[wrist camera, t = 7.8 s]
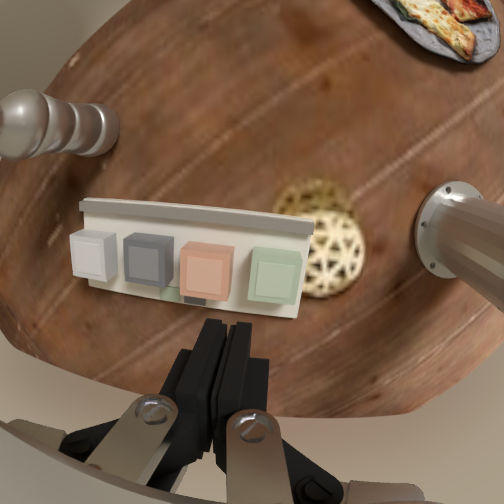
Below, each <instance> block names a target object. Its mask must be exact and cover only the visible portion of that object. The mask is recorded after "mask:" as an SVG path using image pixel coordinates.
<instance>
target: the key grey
mask: <svg viewBox="0 0 504 504" xmlns="http://www.w3.org/2000/svg"><path fill="white" fill-rule="evenodd" d="M70 247H71V258H72V268H73V275H75V276H79V277H84V278H89V279H94V280H99V281H104V282H107V281H108V280H109V279H111V278H112V277H113V276H114V275H116V274H117V273H118V261H117V234H116V232H107V231H98V230H89V229H82V230H80V231H77V232H75V233H73V234H71V235H70Z"/></svg>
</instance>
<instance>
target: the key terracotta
mask: <svg viewBox="0 0 504 504" xmlns="http://www.w3.org/2000/svg"><path fill="white" fill-rule="evenodd" d="M234 249H235V246H227V245H219V244H210V243H202V242H193V241H188V242H187V243H186V244H185V245H184V246H183V247H182V248H181V249H180V295H184V296H191V297H197V298H204V299H211V300H218V301H225V302H227V300H228V297H229V294H230V291H231V284H232V272H233V260H234Z"/></svg>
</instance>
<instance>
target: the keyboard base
mask: <svg viewBox="0 0 504 504" xmlns="http://www.w3.org/2000/svg"><path fill="white" fill-rule="evenodd" d="M79 211H84V229H89V230H98V231H107V232H116V234H117V261H118V273H117V274H116V275H114V276H113V277H112V278H111V279H109V280H108V281H107V282H104V281H99V280H94V279H89V278H88V282H89V286H92V287H96V288H101V289H106V290H111V291H116V292H121V293H126V294H131V295H137V296H142V297H147V298H153V299H159V300H165V301H170V302H176V303H183V304H189V305H195V306H202V307H209V308H216V309H223V310H230V311H238V312H245V313H253V314H262V315H270V316H279V317H289V318H297V314H298V308H299V303H300V298H301V293H302V287H303V282H304V276H305V270H306V264H307V259H308V253H309V246H310V240H311V235H313V231H314V222H313V221H314V220H313V219H312V218H305V217H297V216H289V215H281V214H273V213H265V212H256V211H247V210H238V209H228V208H219V207H209V206H198V205H187V204H176V203H164V202H151V201H137V200H122V199H106V198H84V200H82V201H79ZM134 232H137V233H146V234H155V235H164V236H173V237H174V278H173V279H172V280H171V282H170V283H169V284H168V285H167V286H166V288H161V287H155V286H149V285H143V284H137V283H131V282H126V281H125V274H124V254H123V239H124V238H125V237H127V236H129V235H131V234H133V233H134ZM188 241H193V242H202V243H210V244H219V245H227V246H235V249H234V260H233V272H232V284H231V291H230V294H229V297H228V300H227V302H225V301H218V300H211V299H204V298H197V297H191V296H184V295H180V249H181V248H182V247H183V246H184V245H185V244H186V243H187V242H188ZM254 246H259V247H267V248H276V249H284V250H292V251H300V252H301V256H302V259H303V262H302V268H301V274H300V280H299V286H298V291H297V297H296V302H295V305H288V304H278V303H270V302H261V301H253V300H247V299H248V290H249V281H250V272H251V262H252V254H253V249H254Z"/></svg>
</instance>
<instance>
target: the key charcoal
mask: <svg viewBox="0 0 504 504" xmlns="http://www.w3.org/2000/svg"><path fill="white" fill-rule="evenodd" d="M123 254H124V274H125V281H126V282H131V283H137V284H143V285H149V286H155V287H161V288H166V286H167V285H168V284H169V283H170V282H171V280H172V279H173V278H174V237H173V236H164V235H155V234H146V233H137V232H134V233H133V234H131V235H129V236H127V237H125V238H124V239H123Z"/></svg>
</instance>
